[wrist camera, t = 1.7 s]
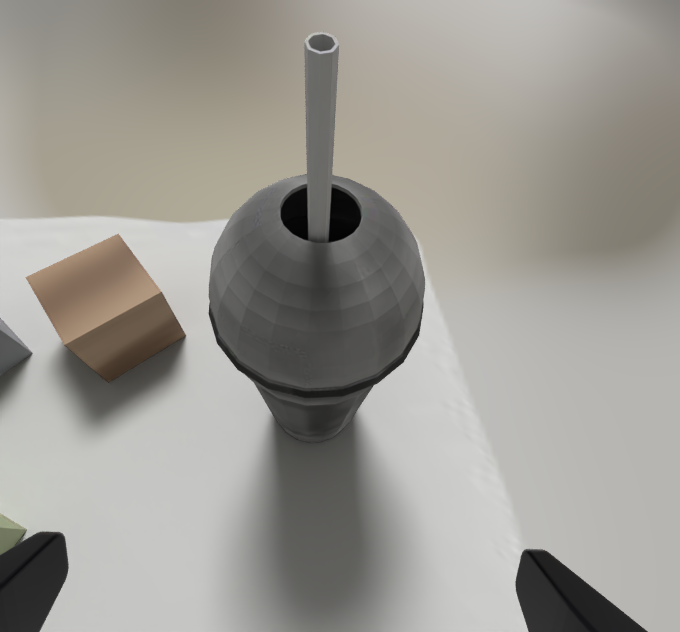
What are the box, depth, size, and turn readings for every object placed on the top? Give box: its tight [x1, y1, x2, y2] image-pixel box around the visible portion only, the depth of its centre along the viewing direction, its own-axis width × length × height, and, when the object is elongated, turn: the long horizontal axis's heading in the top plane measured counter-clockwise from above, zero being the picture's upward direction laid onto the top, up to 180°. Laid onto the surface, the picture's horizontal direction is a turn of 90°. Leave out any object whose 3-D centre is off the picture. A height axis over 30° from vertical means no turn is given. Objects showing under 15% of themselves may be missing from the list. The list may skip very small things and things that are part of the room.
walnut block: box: [26, 234, 186, 383], centre depth 23 cm, size 5×5×5 cm
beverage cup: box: [209, 32, 425, 443], centre depth 15 cm, size 7×7×20 cm
